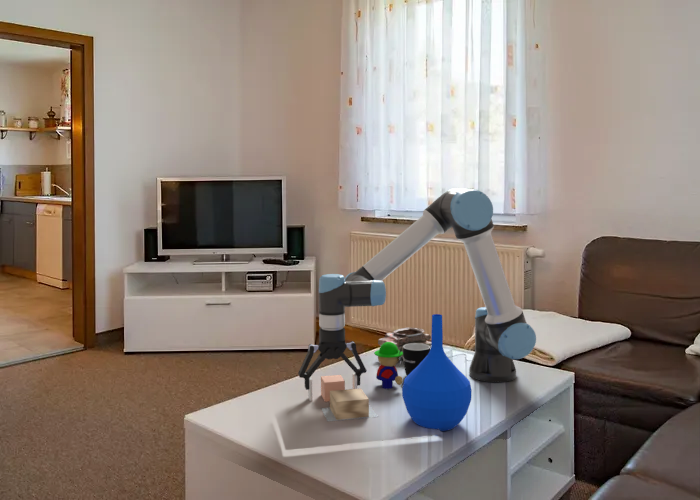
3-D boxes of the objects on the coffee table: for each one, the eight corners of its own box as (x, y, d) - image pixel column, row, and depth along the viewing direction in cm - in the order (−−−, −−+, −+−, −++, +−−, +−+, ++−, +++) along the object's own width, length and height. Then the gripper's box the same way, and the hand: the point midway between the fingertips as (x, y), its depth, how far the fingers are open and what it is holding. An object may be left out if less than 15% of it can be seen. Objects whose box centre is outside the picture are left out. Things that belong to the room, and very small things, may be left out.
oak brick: (361, 405, 185) (360, 388, 184) (368, 416, 176) (368, 398, 176) (330, 408, 183) (329, 390, 182) (336, 419, 174) (336, 401, 174)
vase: (422, 407, 186) (423, 305, 183) (482, 420, 176) (484, 312, 172) (389, 428, 171) (388, 317, 168) (452, 444, 161) (453, 326, 157)
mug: (397, 375, 216) (397, 345, 214) (417, 370, 221) (417, 341, 220) (421, 384, 206) (421, 353, 205) (442, 379, 211) (442, 349, 210)
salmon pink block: (340, 397, 195) (340, 374, 195) (345, 404, 190) (344, 380, 189) (321, 399, 194) (320, 376, 193) (324, 405, 188) (324, 382, 188)
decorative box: (440, 359, 235) (440, 332, 233) (393, 367, 225) (393, 340, 224) (419, 350, 246) (419, 325, 245) (373, 358, 237) (373, 332, 235)
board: (369, 408, 186) (369, 403, 186) (378, 420, 176) (378, 416, 176) (321, 412, 183) (321, 408, 183) (327, 425, 173) (327, 421, 173)
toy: (402, 396, 196) (401, 347, 194) (371, 394, 197) (371, 346, 196) (406, 384, 206) (406, 338, 204) (377, 383, 208) (376, 337, 206)
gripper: (370, 322, 196) (370, 390, 198) (288, 326, 190) (289, 397, 193) (376, 327, 188) (376, 398, 191) (291, 332, 183) (292, 405, 185)
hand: (332, 397), depth 192 cm, fingers open, 13 cm apart
